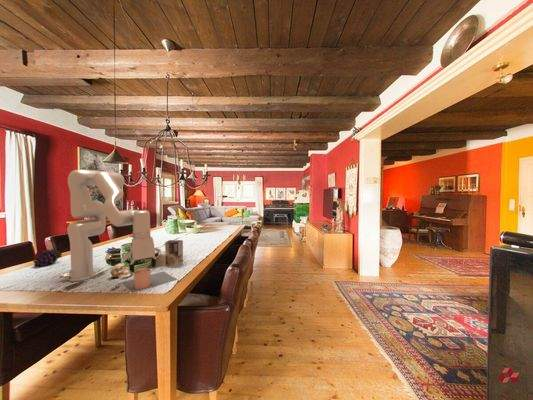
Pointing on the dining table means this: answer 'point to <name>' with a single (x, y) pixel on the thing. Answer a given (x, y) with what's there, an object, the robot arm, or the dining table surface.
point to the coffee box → (174, 253)
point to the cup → (142, 278)
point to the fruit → (47, 257)
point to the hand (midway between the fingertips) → (143, 269)
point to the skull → (120, 272)
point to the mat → (155, 281)
